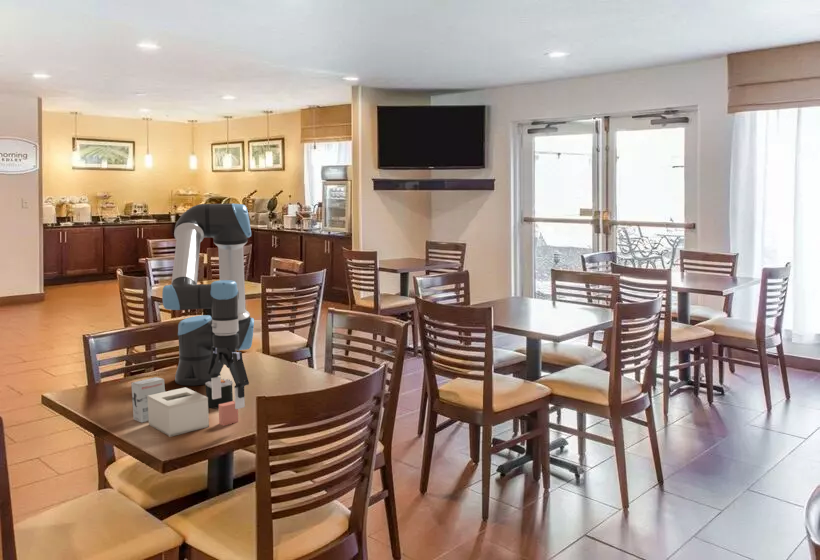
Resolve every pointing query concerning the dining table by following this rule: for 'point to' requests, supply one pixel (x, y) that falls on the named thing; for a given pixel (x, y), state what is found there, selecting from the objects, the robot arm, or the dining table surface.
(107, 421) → the dining table surface
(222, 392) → the sushi
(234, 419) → the pink flat block
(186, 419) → the tissue box
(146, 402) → the ink box
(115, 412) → the dining table surface
